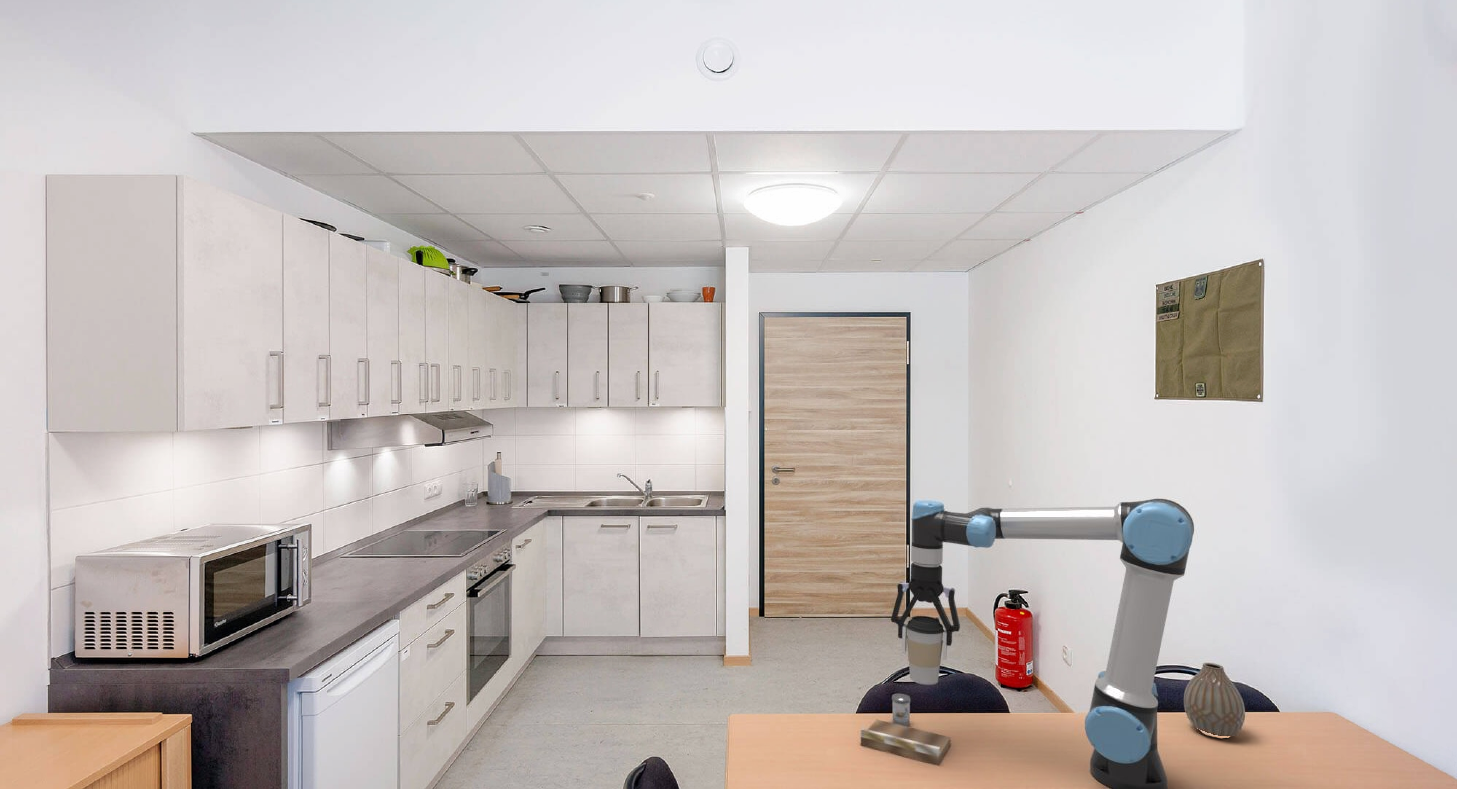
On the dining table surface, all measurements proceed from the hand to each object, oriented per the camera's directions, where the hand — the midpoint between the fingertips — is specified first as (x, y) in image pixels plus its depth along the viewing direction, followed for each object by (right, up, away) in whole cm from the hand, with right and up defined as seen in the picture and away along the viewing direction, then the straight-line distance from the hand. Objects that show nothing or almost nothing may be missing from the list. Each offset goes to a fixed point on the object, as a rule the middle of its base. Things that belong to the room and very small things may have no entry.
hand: (924, 654), depth 171 cm
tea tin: (-3, -23, +12) cm, 26 cm away
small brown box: (-5, -22, 0) cm, 23 cm away
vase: (+78, -24, +9) cm, 82 cm away
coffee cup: (0, -6, 0) cm, 6 cm away
